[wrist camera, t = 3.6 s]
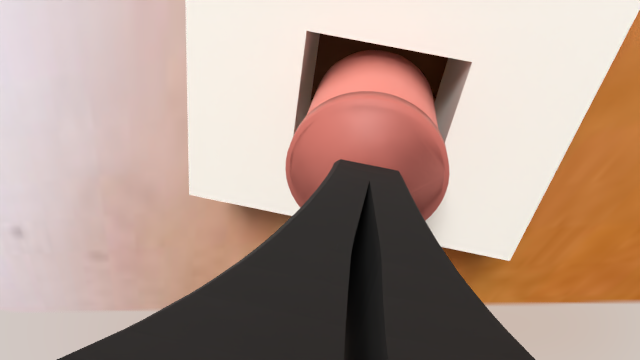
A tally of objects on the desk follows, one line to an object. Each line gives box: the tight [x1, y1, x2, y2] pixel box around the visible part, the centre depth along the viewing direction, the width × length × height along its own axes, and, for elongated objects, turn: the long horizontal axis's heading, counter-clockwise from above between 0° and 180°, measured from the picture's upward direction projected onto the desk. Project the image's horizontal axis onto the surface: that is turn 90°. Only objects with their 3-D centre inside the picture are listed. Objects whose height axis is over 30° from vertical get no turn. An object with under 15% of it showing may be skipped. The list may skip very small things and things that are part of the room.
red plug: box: [285, 50, 450, 221], centre depth 12 cm, size 4×4×4 cm
